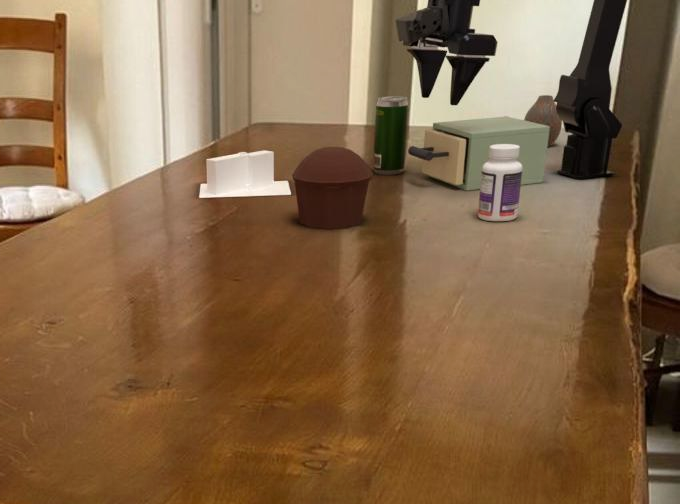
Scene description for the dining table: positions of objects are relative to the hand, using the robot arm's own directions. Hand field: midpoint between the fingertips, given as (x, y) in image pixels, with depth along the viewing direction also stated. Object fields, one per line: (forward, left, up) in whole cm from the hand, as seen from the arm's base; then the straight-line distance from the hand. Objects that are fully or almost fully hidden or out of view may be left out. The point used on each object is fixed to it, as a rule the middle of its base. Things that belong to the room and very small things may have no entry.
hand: (439, 101), depth 158 cm
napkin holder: (+29, -11, -13) cm, 33 cm away
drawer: (-5, 0, -12) cm, 13 cm away
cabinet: (-9, 0, -13) cm, 16 cm away
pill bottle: (+3, +24, -13) cm, 27 cm away
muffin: (+25, +16, -13) cm, 32 cm away
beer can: (+2, -13, -13) cm, 19 cm away
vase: (-34, -23, -13) cm, 44 cm away
